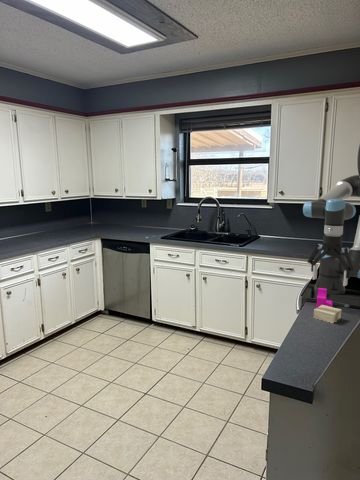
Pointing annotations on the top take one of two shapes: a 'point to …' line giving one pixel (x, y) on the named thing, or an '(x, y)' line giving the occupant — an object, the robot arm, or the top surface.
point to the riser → (327, 313)
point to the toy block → (323, 298)
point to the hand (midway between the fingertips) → (329, 282)
